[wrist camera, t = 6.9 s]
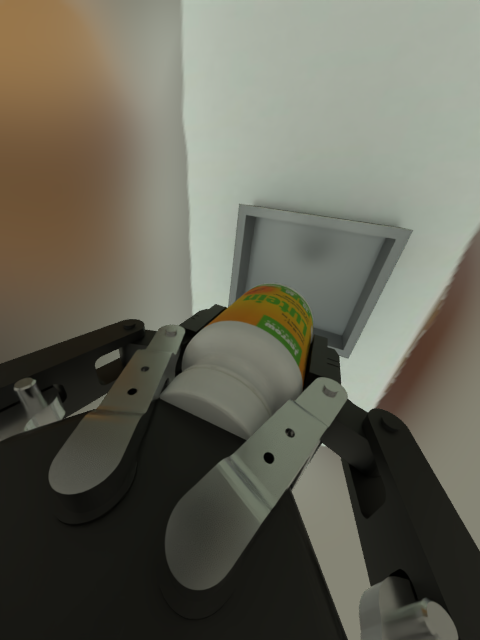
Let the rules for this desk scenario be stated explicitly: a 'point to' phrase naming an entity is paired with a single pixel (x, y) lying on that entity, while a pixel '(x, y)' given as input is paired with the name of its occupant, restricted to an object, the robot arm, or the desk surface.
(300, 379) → the supplement bottle
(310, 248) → the tub
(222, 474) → the robot arm
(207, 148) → the desk surface
